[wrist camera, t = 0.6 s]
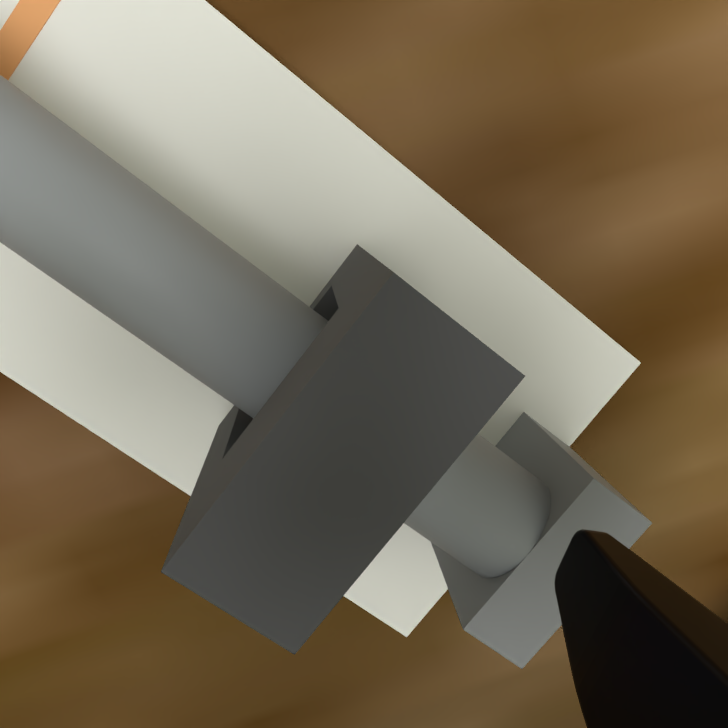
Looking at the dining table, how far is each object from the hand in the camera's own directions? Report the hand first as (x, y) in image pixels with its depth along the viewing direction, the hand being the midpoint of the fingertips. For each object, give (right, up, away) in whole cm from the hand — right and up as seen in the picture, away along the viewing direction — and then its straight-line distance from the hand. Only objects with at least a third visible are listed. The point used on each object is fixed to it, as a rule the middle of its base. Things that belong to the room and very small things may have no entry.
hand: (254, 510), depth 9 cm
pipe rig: (-4, +5, +12) cm, 14 cm away
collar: (0, +2, +12) cm, 12 cm away
